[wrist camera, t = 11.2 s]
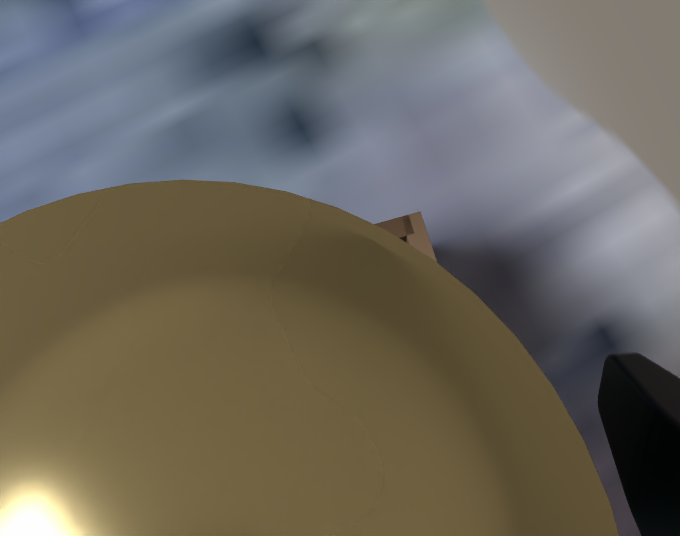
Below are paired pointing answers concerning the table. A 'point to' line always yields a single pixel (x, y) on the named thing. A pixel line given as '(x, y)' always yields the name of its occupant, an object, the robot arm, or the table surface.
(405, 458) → the tea tin
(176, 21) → the table surface
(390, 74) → the table surface
